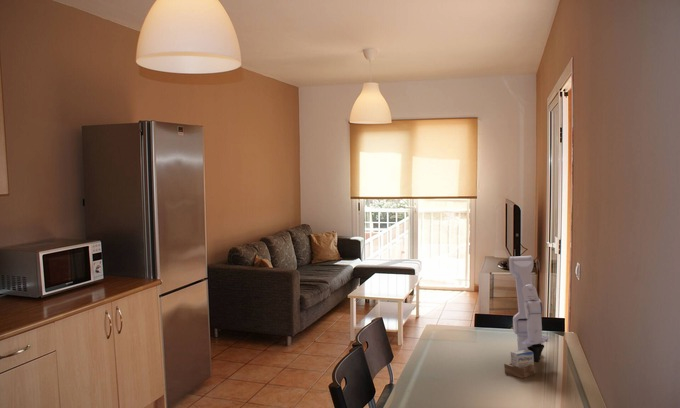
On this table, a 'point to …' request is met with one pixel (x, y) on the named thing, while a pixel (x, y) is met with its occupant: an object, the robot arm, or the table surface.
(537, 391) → the table surface
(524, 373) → the open wooden box
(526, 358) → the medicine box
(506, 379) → the table surface
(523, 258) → the robot arm
